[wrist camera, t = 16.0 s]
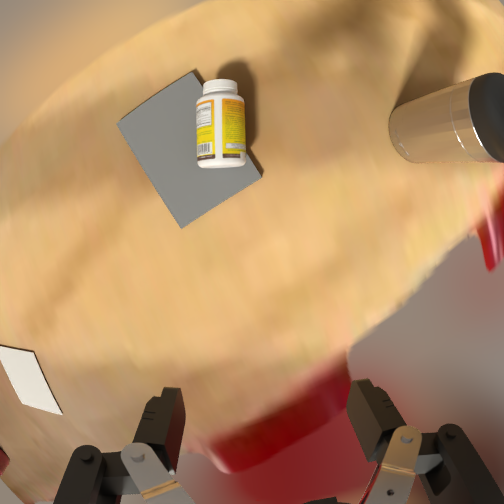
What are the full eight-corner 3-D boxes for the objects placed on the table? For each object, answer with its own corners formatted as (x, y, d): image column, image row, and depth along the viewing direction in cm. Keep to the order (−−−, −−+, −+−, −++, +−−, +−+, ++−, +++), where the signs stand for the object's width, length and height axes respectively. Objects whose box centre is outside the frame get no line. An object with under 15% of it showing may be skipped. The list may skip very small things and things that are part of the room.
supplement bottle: (248, 167, 34) (246, 89, 32) (242, 164, 29) (240, 74, 27) (204, 169, 35) (203, 92, 33) (190, 167, 30) (190, 79, 27)
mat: (193, 74, 32) (191, 71, 31) (261, 177, 36) (261, 177, 35) (118, 125, 33) (116, 123, 32) (182, 227, 37) (181, 228, 36)
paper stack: (1, 394, 45) (0, 395, 44) (-36, 306, 39) (-37, 307, 38) (64, 413, 46) (62, 415, 45) (21, 312, 40) (19, 313, 39)
